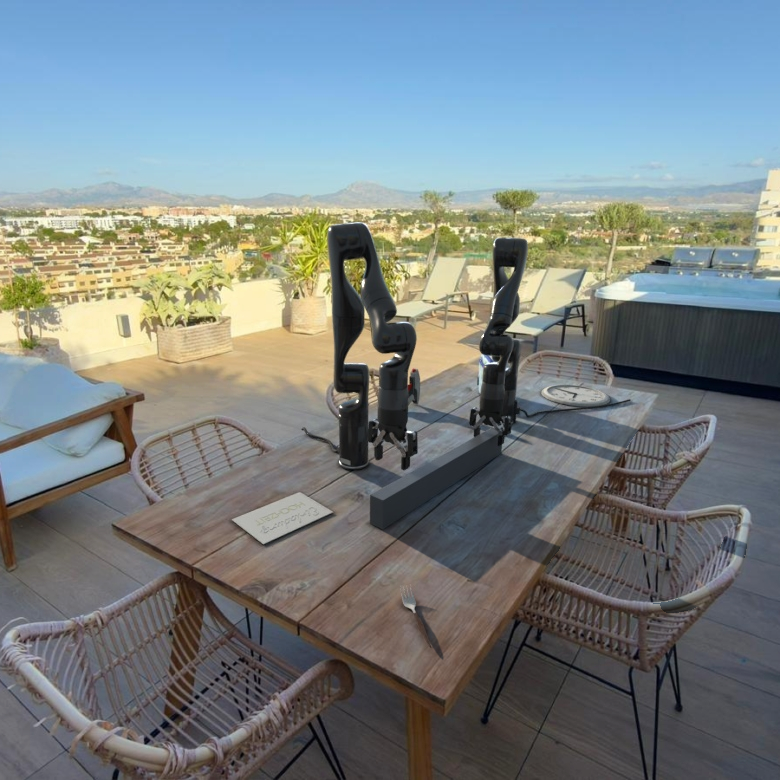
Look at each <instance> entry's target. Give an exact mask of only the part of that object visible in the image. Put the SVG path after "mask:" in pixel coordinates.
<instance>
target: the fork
mask: <svg viewBox="0 0 780 780" xmlns="http://www.w3.org/2000/svg"><path fill="white" fill-rule="evenodd" d="M402 587H403V590H402ZM399 588H400V594H401V599H402V604H403V606H404V607H405V608H407V609H410V610H411V611H412V613H413V617H414V619H415V623H416V625H417V628H418V630H419V632H420V633H421V635H422V636H423V638H424V640H425V643H427V645H428V647H429V648H430V649H431V648H432V646H431V643H430V640H429V636H428V633H427V630H426V627H425V624H424V623H423V621H422V619H421V618H420V616H419V615H418V613H417V612H416V609H415V608H416V606H417V601H416V599H415V595H414V592H413V589H412V586H411V584H409V587H408V586H406V589H407V590H406V589H405V585H403V586H401V585H399ZM409 588H410V591H409ZM406 591H407V592H406ZM403 592H404V594H403Z"/></svg>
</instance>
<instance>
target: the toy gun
mask: <svg viewBox="0 0 780 780" xmlns="http://www.w3.org/2000/svg"><path fill="white" fill-rule="evenodd" d="M409 375H410V376H408V407H409V406H410V405H411V403H412V405H416V406H418V405H419V402H420V397H421V395H420V394H421V376H420V372H419V369H418V368H415V367H413V368H412V369H411V371H410V373H409Z"/></svg>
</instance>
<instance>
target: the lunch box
mask: <svg viewBox="0 0 780 780" xmlns="http://www.w3.org/2000/svg"><path fill="white" fill-rule="evenodd" d="M491 362H495V361H493V360H492V357H491V356H487V355H483V354H480V358H479V360H478V377H477V381H476V384H477V385H476V386H478V393H479V395H480V394H481V385H482V377H483V367H484V365H485V364H486V363H491ZM509 366H510V365H509V363H507V366H506V368H507V367H509Z"/></svg>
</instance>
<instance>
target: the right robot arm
mask: <svg viewBox="0 0 780 780" xmlns="http://www.w3.org/2000/svg"><path fill="white" fill-rule="evenodd" d="M491 253H492V254H491V259H492V261H491V262H492V275H493V276H492V277H493V290H492V291H493V292H492V302H491V307H490V313H489V317H488V322H487V325H486V327H485V329H484V330H483V333H482V334H481V336H480V339H479V341H478V350H479V353H480V355H482V354H483V355H487V356H491V357H492V360H493V361H495V362H491V363H486V364H485V365H484V367H483V377H482V385H481V394H480V393H479V409H478V407H476V406H475V407H473V408H471V409H470V412H469V413H470V414H469V421H468V425H469V426H470V427H472V428H473V438H474V437H476V436H478V435H479V434H481V427H482V425H485V426H489V427H491V428H495V430H497V432H498V434H499V436H498V446H501V445H502V446H503V445H504V444H505V438H506V436H508V435H510V434H512V425H513V424H516V423H517V415H520V414H521V412H522V413H524V414H525V417H527V418H533V417H534V416H536V415H539V414H547V413H557V412H568V411H581V410H591V409H597V408H598V409H600V408H605V407H611V406H615V405H621V404H624V403H628V402H631V400H632V399H625V400H622V401H617V402H613V403H608V404H606V405H600V406H593V407H572V408H561V409H549V410H540V411H537V412H534V413H532V414H531V415H530V414H528V412H527V411H526V410H524V409H522V408H521V407H520V406H518V399H517V388H518V377H519V376H518V375H519V366H520V359H521V353H522V352H521V351H522V343H521V341H520V340H519V339H515V338H513V337H512V336H511V335H509V334H505V332H506V331H507V330H508V329H509V328H511V325H513V324H514V322H515V321H516V320H517V319H518V316H519V315H520V305H521V304H520V303H521V301H520V300H521V298H520V294H519V289H520V286H521V283H522V279H523V275H524V271H525V269H526V264H527V260H528V254H529V242H528V240H527V239H526V238H520V237H519V238H518V237H497V238H495V240H494V241H493V244H492V251H491ZM505 268H513V271H512V274H511V276H510V277H508V275H507V273H506V270H505ZM507 363H508V364H509V365H508V366H509V367H507V368H506V366H507ZM478 416H479V419H478V420H477V417H478Z"/></svg>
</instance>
